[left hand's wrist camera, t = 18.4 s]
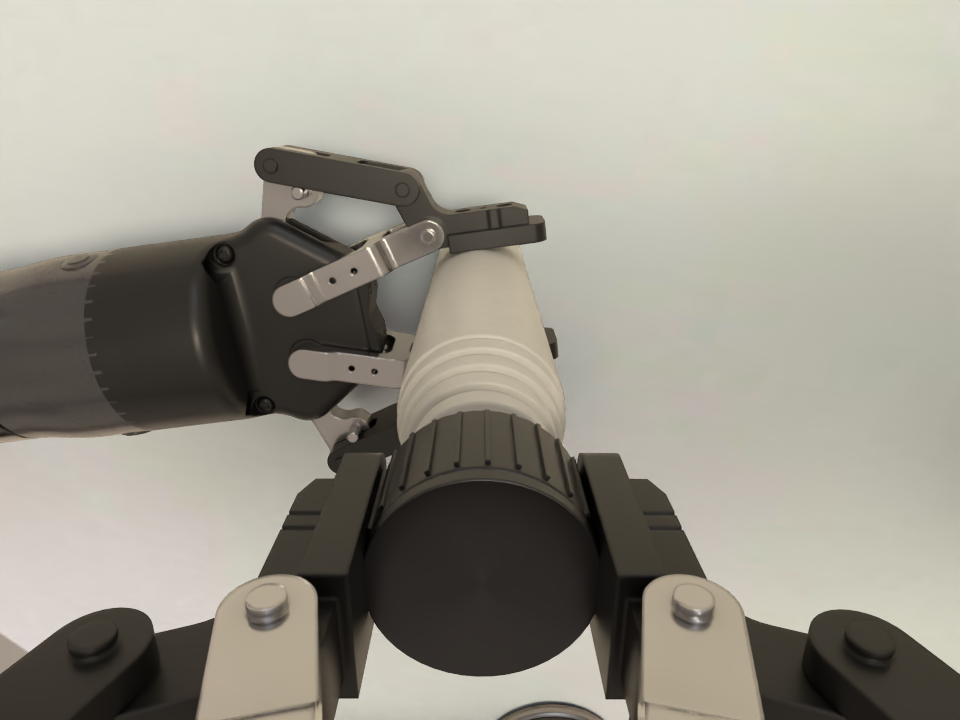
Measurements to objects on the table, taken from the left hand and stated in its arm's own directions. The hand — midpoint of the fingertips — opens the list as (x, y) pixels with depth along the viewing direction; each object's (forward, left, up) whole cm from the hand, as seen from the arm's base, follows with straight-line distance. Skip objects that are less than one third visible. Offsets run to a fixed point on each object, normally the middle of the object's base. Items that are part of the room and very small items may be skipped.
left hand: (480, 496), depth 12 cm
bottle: (0, 0, -22) cm, 22 cm away
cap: (0, 0, +2) cm, 2 cm away
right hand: (0, -3, -15) cm, 15 cm away
